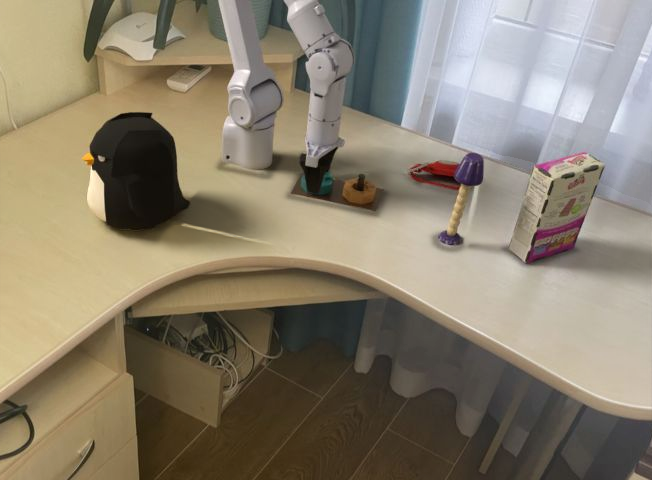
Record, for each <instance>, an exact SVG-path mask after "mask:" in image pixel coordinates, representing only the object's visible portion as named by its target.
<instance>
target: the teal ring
mask: <svg viewBox="0 0 652 480" xmlns="http://www.w3.org/2000/svg"><path fill="white" fill-rule="evenodd" d="M334 179H335V177H334V176H333V175H332V174H330V172H325V175H324V178H323V181H322V185H321V188H320V190H319V192H318V194H317V193H312V192H308V191H307V187H306V181H305V175H303V176H302V178H301V187H302V188H303V189H304V190H305V191H306V192H307V193H310V194H315V195H323V194H327V193H330V192H331V190H332V188H333V184H334Z"/></svg>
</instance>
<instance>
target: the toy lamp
mask: <svg viewBox="0 0 652 480" xmlns="http://www.w3.org/2000/svg"><path fill="white" fill-rule="evenodd" d="M484 161H485V160H484V157H483V156H482V155H481V154H480V153H476V152H468V153H465V155H464V156H463V158H462V160H461V161H460V163H458V164H459V166H458V168H457V169H456V171H455V173H454V176H453V177H454V180H455V181H456V182H457V183H459V185H461V187H460V189H458V194H457V196H456V201H455V203H454V205H453V210H452V212H451V217H450V219H449V221H448V226H447V228H446V229H445V230H443V231H441V232H440V233H439V234H438V236H437V239H438V241H439V242H440V243H442V244H444V245H447V246H458V245H460V244H461V243H462V237H461V236H460V234H459V233H458V227H459V226H460V224H461V219H462V218H463V214H464V213H463V212H464V211H465V209H466V203H467V202H468V196H469V195H470V192H471V188H472V187H477V186H479V185H481V184H482V183H483V181H484V171H485V162H484Z"/></svg>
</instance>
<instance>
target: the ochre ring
mask: <svg viewBox="0 0 652 480" xmlns="http://www.w3.org/2000/svg"><path fill="white" fill-rule="evenodd" d="M345 181H346V183H345V185H344V187H343V196H344V197H345V198H346V199H347V200H348V201H349V202H353V203H357V204H366V203H369V202H373V200H374V197H375V194H376V188H378V187H377V186H376V185H375V184H374V183H373V182H372V181H371V180H367V179H365V181H364V187H363V191H362V192H361V191H356V189H357V182H358V177H357V178H353V179H348V180H345Z"/></svg>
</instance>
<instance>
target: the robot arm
mask: <svg viewBox="0 0 652 480" xmlns="http://www.w3.org/2000/svg"><path fill="white" fill-rule="evenodd" d="M217 1H218V5H219V10H220V14H221V17H222V22H223V27H224V31H225V36H226V40H227V45H228V49H229V54H230V58H231V60H232V66H233V71H234V72H233V74H232V76H231V78H230V80H229V83H228V84H227V87H226V88H227V93H228V102H227V109H228V113H229V115H227V116H226V119H225V121H224V123H223V128H222V134H221V162H222V163H224V164H231V165H234V166H238V167H241V168H243V169H247V170H256V171H257V170H264V169H266V168H268V167H270V166H271V165H272V163H273V154H274V153H273V152H274V136H275V134H274V133H275V122H276V121H275V120H276V118H277V113H278V111H280V110H281V109H282V107H283V105H284V101H285V95H284V92H283V89H282V87H281V85H280V84H279V82H278V80H277V76H276V72H275V71H274V70H273V69H272V68H270V67H269V66H268V65H266V64H265V61H264V56H263V52H262V46H261V42H260V37H259V32H258V27H257V23H256V18H255V13H254V8H253V4H252V0H217ZM283 2H284V3H285V5H286V7H287V15H286V22H287V23H288V25H289V27H290V28H291V31H292V32H293V34H294V36H295V38H296V39H297V41H298V43H299V45H300V47H301V48H302V50H303V52H304V54H305V56H306V57H307V59H308V60H307V61H306V62H305V70H306V74H307V76H308V78H309V82H310V83H309V88H310V94H309V103H308V104H309V105H308V112H307V113H308V114H307V122H306V134H305V136H304V145H305V150H306V153H301V154H300V155H299V158H298V163H299V165H300V167H301V169H302V171H303V172H302V173H304V175H305V181H306V187H307V191H308V192H312V193H317V194H318V192H319V190H320V188H321V185H322V181H323V178H324V175H325V172H328V173H330V169H331V166H332V163H333V159H334V157H335V154H336V153H337V150H338V149H339V148H341V149H342V148H344V146H345V143H346V140H345V139H344V138H341V137H340V129H341V120H342V113H343V107H344V106H343V105H344V98H345V92H346V91H345V89H346V84H347V83H346V82H347V75H348V73H349V72H351V71H352V69H353V68H354V66H355V61H356V59H355V58H356V56H355V53H354V50H353V46H352V45H351V43H350V42H349V41H348V40H346V39H344V38H342V37H340V35H339V34H338V33H336V32H335V30H334V28H333V27H332V25H331V23H330V21H329V19H328V17H327V16H326V14H325V13H326V10H325V8H324V6H323V4H320V2H319V0H283Z"/></svg>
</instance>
